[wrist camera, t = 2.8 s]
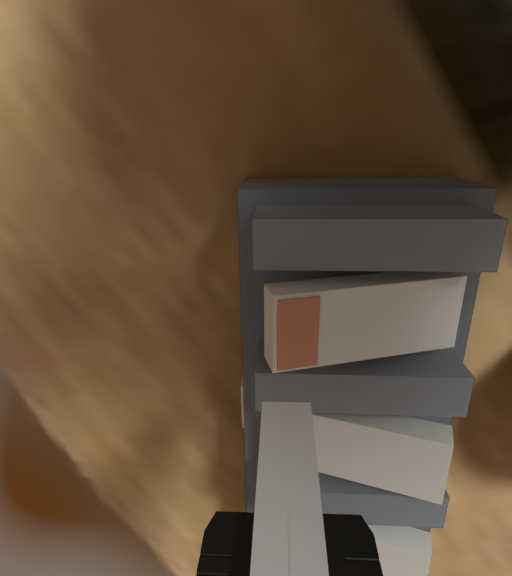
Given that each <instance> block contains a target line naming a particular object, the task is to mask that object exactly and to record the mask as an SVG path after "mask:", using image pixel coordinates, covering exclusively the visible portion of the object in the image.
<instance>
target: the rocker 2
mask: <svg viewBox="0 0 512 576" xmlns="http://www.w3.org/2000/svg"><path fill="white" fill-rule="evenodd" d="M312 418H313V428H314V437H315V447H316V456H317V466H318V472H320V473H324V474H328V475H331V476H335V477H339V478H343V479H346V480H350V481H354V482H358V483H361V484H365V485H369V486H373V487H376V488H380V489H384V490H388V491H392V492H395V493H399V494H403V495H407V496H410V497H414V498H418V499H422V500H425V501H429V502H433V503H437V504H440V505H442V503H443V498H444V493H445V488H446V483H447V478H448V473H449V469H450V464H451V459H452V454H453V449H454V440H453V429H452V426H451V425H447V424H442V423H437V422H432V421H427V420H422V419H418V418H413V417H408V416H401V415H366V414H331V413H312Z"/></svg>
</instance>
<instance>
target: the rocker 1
mask: <svg viewBox="0 0 512 576" xmlns="http://www.w3.org/2000/svg"><path fill="white" fill-rule="evenodd" d="M466 280H467V276H466V275H464V274H462V273H460V272H418V271H392V272H382V273H372V274H361V275H351V276H341V277H331V278H320V279H310V280H300V281H290V282H279V283H269V284H264V357H265V359H266V361H267V363H268V365H269V367H270V369H271V371H272V373H279V372H286V371H293V370H299V369H306V368H313V367H320V366H327V365H334V364H341V363H347V362H354V361H361V360H368V359H375V358H382V357H389V356H396V355H402V354H409V353H416V352H423V351H430V350H437V349H444V348H451V347H454V346H455V340H456V335H457V329H458V324H459V319H460V313H461V308H462V302H463V297H464V291H465V286H466Z"/></svg>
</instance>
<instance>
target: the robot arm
mask: <svg viewBox="0 0 512 576" xmlns="http://www.w3.org/2000/svg"><path fill="white" fill-rule="evenodd" d="M197 576H383V572H382V568H381V564H380V562H379V555H378V550H377V546H376V541H375V537H374V534H373V532H372V531H371V529H370V528H369V526H368V525H367V523H366V522H365V520H364V519H363V517H362V516H361V515H354V514H323V513H322V504H321V494H320V485H319V475H318V466H317V456H316V447H315V437H314V428H313V418H312V409H311V402H262V413H261V427H260V441H259V455H258V469H257V483H256V497H255V511H254V513H251V512H219V511H217V512H216V513H215V515H214V516H213V518H212V519H211V521H210V523H209V524H208V526H207V527H206V529H205V531H204V537H203V542H202V547H201V554H200V557H199V563H198V568H197Z"/></svg>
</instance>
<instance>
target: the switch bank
mask: <svg viewBox="0 0 512 576" xmlns="http://www.w3.org/2000/svg"><path fill="white" fill-rule="evenodd" d="M496 191H497V188H493V187H490V186H487V185H483V184H480V183H477V182H473V181H470V180H467V179H463V178H460V177H349V178H245V180H244V181H243V183H242V184H241V185H240V187H239V188H238V223H239V259H240V294H241V330H242V365H243V376H242V382H241V415H242V428H244V437H245V472H246V508H247V512H251V513H254V511H255V497H256V483H257V469H258V455H259V441H260V427H261V413H262V402H311V409H312V413H331V414H366V415H401V416H408V417H413V418H418V419H422V420H427V421H432V422H437V423H442V424H447V425H451V421H452V417H467V412H468V407H469V403H470V398H471V393H472V388H473V384H474V379H475V378H474V377H473V375H472V374H471V373H470V371H469V370H468V369H467V367H466V366H465V365H464V363H463V360H464V355H465V350H466V344H467V339H468V334H469V329H470V324H471V319H472V314H473V309H474V303H475V298H476V293H477V288H478V283H479V278H480V273H481V272H497V269H498V265H499V260H500V255H501V250H502V246H503V241H504V236H505V231H506V227H507V222H508V219H506V218H504V217H501V216H499V215H497V214H494V213H492V211H493V206H494V201H495V196H496ZM392 271H418V272H460V273H462V274H464V275H466V276H467V280H466V286H465V291H464V297H463V302H462V308H461V313H460V319H459V324H458V329H457V335H456V340H455V346H454V347H451V348H444V349H437V350H430V351H423V352H416V353H409V354H402V355H396V356H389V357H382V358H375V359H368V360H361V361H354V362H347V363H341V364H334V365H327V366H320V367H313V368H306V369H299V370H293V371H286V372H279V373H272V371H271V369H270V367H269V365H268V363H267V361H266V359H265V357H264V284H269V283H279V282H290V281H300V280H310V279H320V278H331V277H341V276H351V275H361V274H372V273H382V272H392ZM318 475H319V485H320V494H321V504H322V513H323V514H354V515H361V516H362V517H363V519H364V520H365V522H366V523H367V525H383V526H406V527H413V528H416V529H420V530H423V531H427V532H430V529H431V528H443V526H444V521H445V517H446V512H447V507H448V502H449V496H448V493H447V491H446V489H445V493H444V498H443V503H442V505H440V504H437V503H433V502H429V501H425V500H422V499H418V498H414V497H410V496H407V495H403V494H399V493H395V492H392V491H388V490H384V489H380V488H376V487H373V486H369V485H365V484H361V483H358V482H354V481H350V480H346V479H343V478H339V477H335V476H331V475H328V474H324V473H320V472H318Z"/></svg>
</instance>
